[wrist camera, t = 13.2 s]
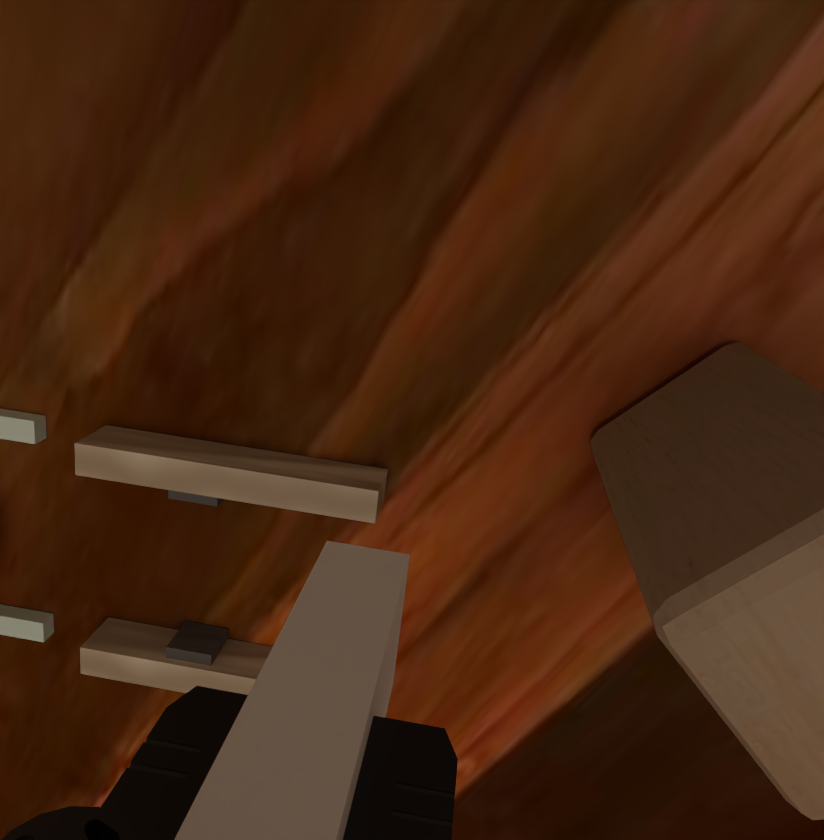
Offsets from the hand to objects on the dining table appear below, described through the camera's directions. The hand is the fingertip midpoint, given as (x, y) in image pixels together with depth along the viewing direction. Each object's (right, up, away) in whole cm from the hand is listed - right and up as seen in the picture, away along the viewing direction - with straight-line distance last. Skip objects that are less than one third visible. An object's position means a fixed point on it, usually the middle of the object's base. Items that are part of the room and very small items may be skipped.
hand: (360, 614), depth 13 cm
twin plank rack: (-10, -6, +34) cm, 36 cm away
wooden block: (+18, +2, +28) cm, 34 cm away
